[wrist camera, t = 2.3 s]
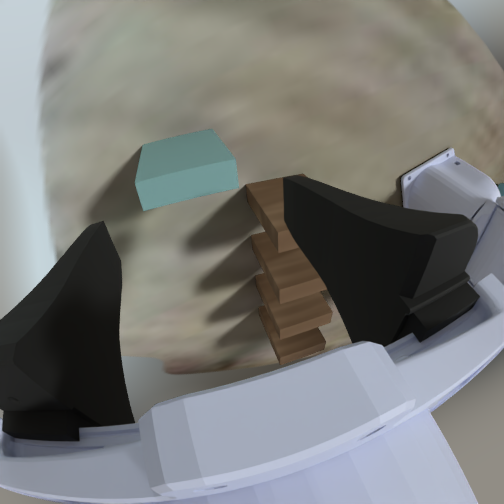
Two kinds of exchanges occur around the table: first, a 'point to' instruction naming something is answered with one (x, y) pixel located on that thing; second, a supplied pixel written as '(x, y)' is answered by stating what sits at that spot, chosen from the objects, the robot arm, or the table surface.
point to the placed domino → (184, 169)
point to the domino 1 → (271, 211)
